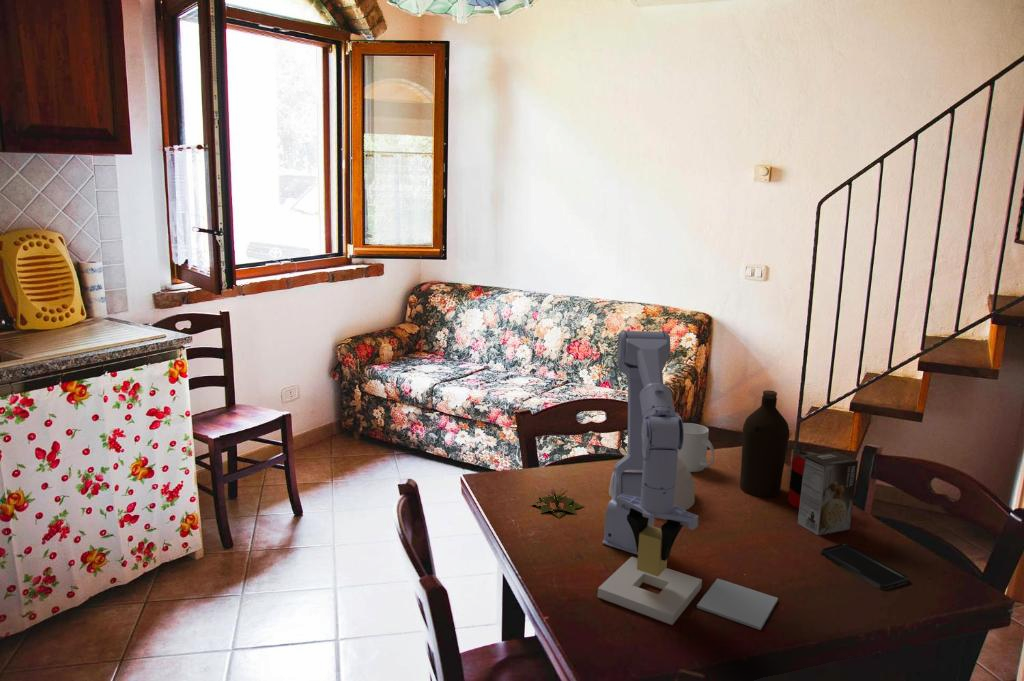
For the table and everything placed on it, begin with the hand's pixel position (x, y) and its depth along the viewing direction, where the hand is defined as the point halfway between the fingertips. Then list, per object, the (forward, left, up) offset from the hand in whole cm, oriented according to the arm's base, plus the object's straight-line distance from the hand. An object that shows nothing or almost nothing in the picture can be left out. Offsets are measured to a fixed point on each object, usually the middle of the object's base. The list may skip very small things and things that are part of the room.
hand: (653, 554), depth 128 cm
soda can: (+14, +58, -8) cm, 60 cm away
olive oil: (+3, +60, -8) cm, 61 cm away
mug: (-15, +63, -8) cm, 65 cm away
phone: (+30, +34, -8) cm, 46 cm away
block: (0, 0, -3) cm, 3 cm away
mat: (+14, +6, -8) cm, 17 cm away
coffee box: (+20, +48, -8) cm, 53 cm away
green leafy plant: (-32, +21, -8) cm, 39 cm away
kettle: (-17, +40, -8) cm, 44 cm away
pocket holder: (0, 0, -8) cm, 8 cm away
